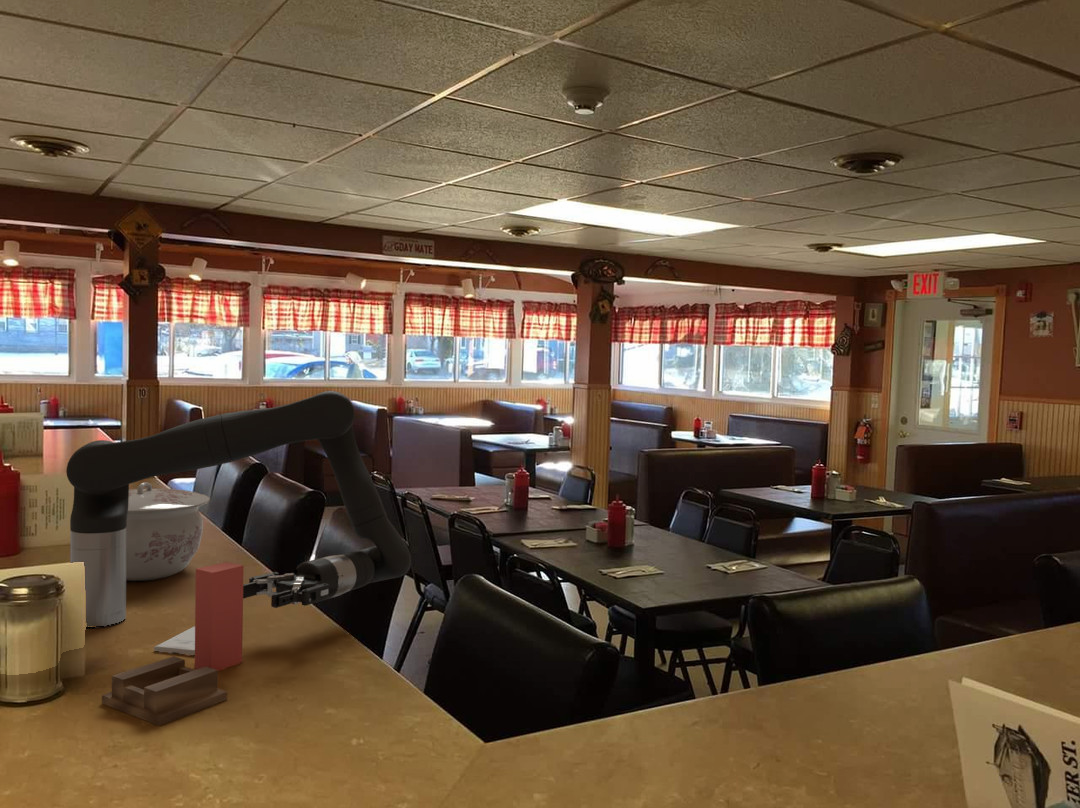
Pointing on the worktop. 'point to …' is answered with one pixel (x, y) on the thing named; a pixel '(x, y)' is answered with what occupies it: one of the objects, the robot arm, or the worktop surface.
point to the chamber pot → (161, 531)
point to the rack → (164, 691)
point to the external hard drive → (179, 643)
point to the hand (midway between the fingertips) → (255, 597)
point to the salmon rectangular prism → (219, 616)
